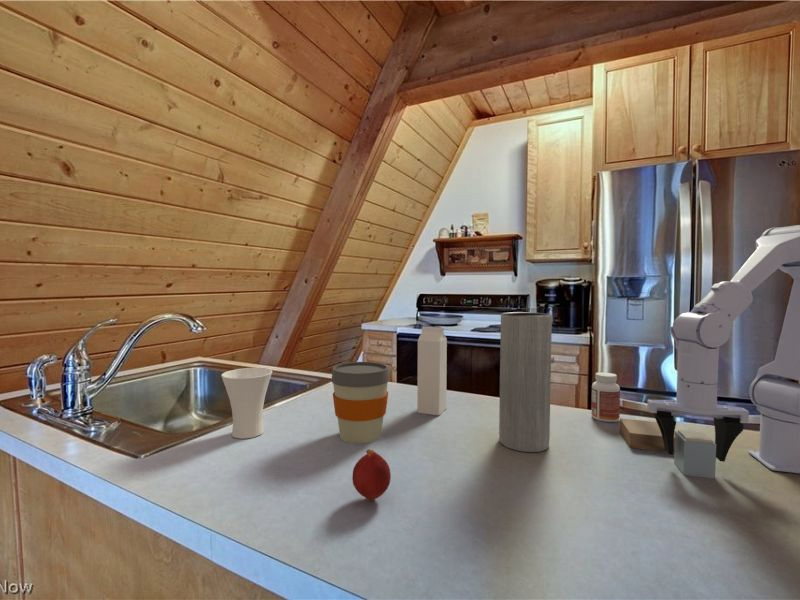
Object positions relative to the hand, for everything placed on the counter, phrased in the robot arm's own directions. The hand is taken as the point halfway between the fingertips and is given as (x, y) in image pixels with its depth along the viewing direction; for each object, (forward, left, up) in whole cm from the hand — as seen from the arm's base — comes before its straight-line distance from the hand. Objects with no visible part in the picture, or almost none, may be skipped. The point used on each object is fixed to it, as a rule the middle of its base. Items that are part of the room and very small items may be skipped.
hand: (693, 455), depth 70 cm
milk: (+52, -17, -3) cm, 55 cm away
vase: (+29, -3, -3) cm, 29 cm away
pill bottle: (+10, -25, -3) cm, 27 cm away
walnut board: (+4, -12, -3) cm, 13 cm away
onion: (+51, +27, -3) cm, 58 cm away
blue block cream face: (0, 0, -3) cm, 3 cm away
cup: (+87, +11, -3) cm, 88 cm away
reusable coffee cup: (+63, +4, -3) cm, 63 cm away
